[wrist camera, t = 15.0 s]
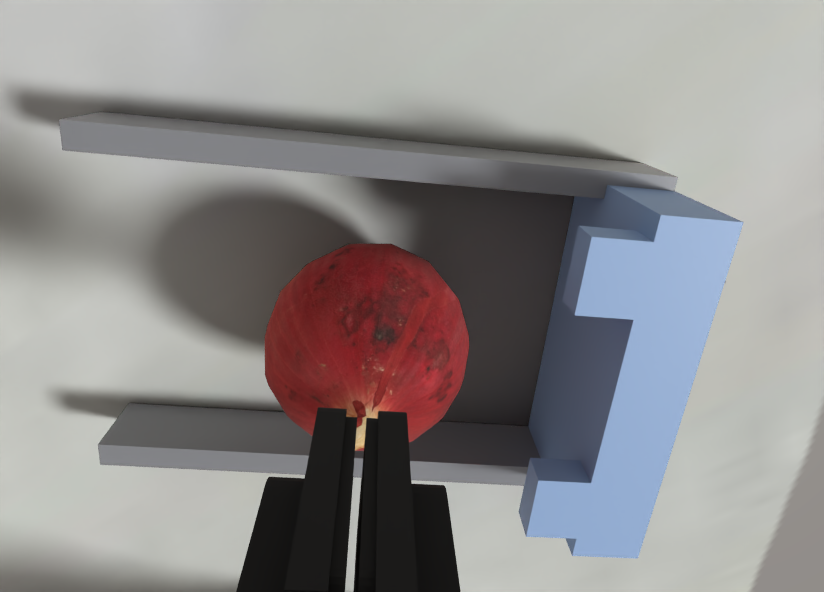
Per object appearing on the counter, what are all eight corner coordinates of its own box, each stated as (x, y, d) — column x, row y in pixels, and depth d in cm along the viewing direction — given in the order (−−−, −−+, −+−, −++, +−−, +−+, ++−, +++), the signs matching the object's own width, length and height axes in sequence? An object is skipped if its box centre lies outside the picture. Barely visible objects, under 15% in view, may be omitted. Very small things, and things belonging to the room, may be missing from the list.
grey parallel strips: (58, -339, 14) (-6, -418, 12) (737, -236, 15) (801, -289, 13) (130, 421, 22) (100, 464, 19) (574, 446, 23) (595, 489, 21)
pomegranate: (325, 186, 19) (286, 270, 11) (482, 256, 20) (539, 374, 13) (263, 335, 21) (196, 489, 13) (410, 391, 22) (423, 562, 14)
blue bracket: (535, 165, 19) (597, 209, 13) (639, 175, 19) (743, 222, 14) (488, 432, 23) (522, 553, 17) (576, 437, 23) (637, 558, 17)
